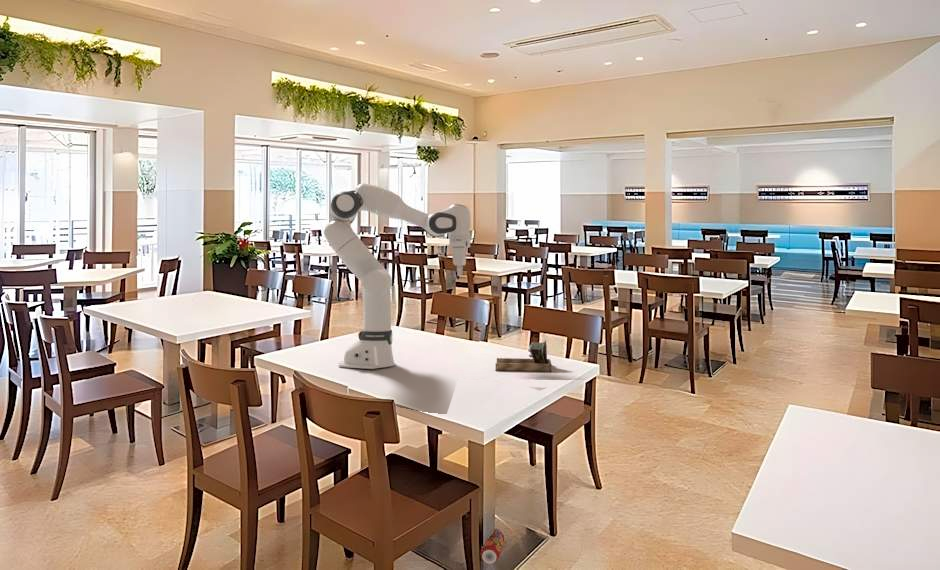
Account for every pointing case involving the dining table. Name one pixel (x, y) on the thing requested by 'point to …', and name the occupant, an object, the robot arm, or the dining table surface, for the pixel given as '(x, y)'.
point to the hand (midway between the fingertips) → (459, 276)
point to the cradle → (522, 365)
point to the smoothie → (493, 547)
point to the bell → (538, 352)
